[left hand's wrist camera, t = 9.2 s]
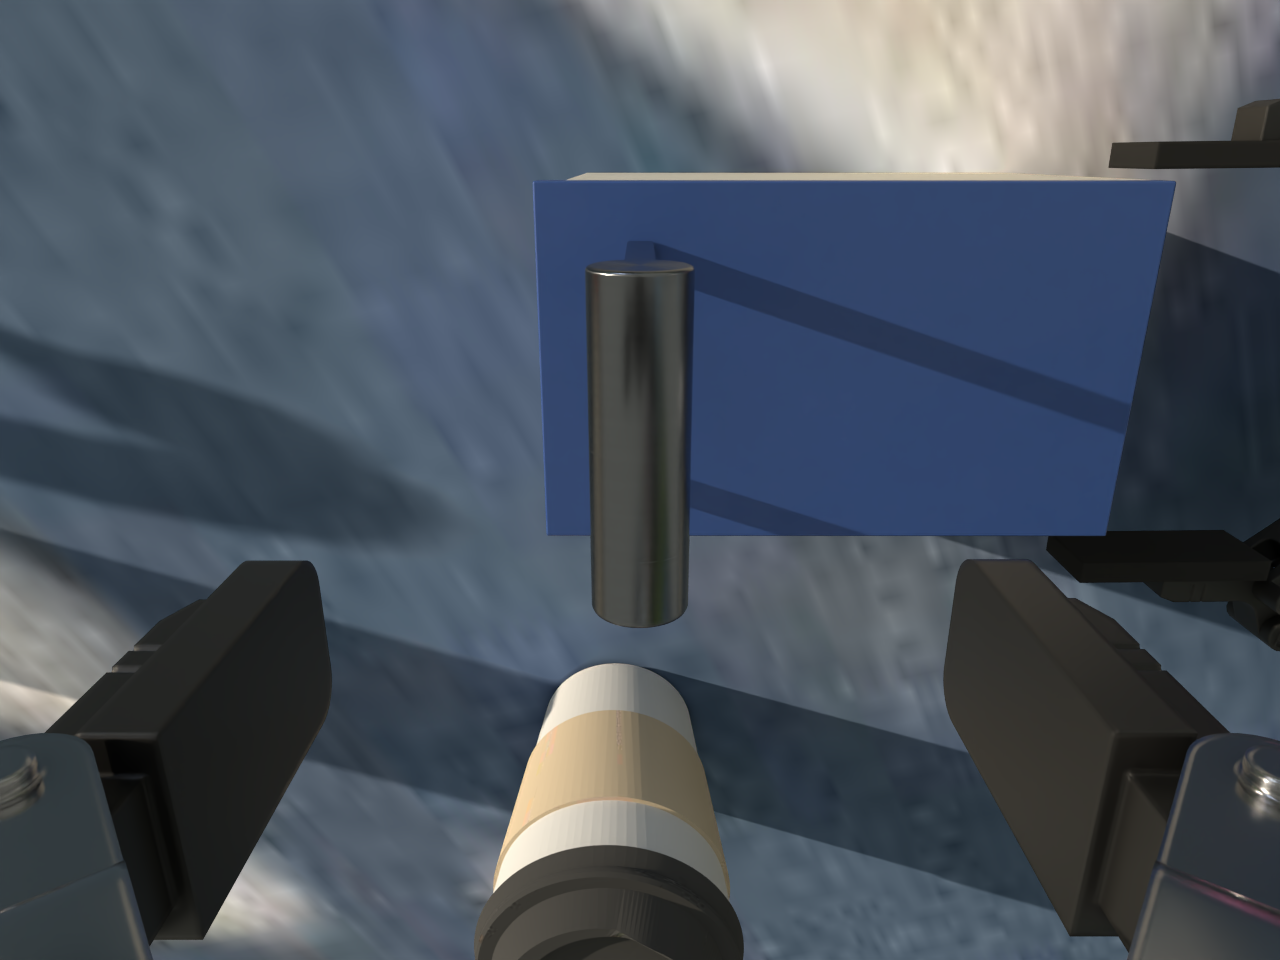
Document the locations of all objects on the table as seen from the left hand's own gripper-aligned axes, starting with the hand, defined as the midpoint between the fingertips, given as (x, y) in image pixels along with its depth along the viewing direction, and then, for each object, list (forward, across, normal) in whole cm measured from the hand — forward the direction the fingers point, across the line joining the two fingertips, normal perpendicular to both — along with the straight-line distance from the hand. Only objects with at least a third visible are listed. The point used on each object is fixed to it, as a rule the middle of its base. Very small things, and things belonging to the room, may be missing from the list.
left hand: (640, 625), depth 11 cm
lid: (+15, +6, 0) cm, 16 cm away
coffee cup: (+25, -1, -20) cm, 32 cm away
